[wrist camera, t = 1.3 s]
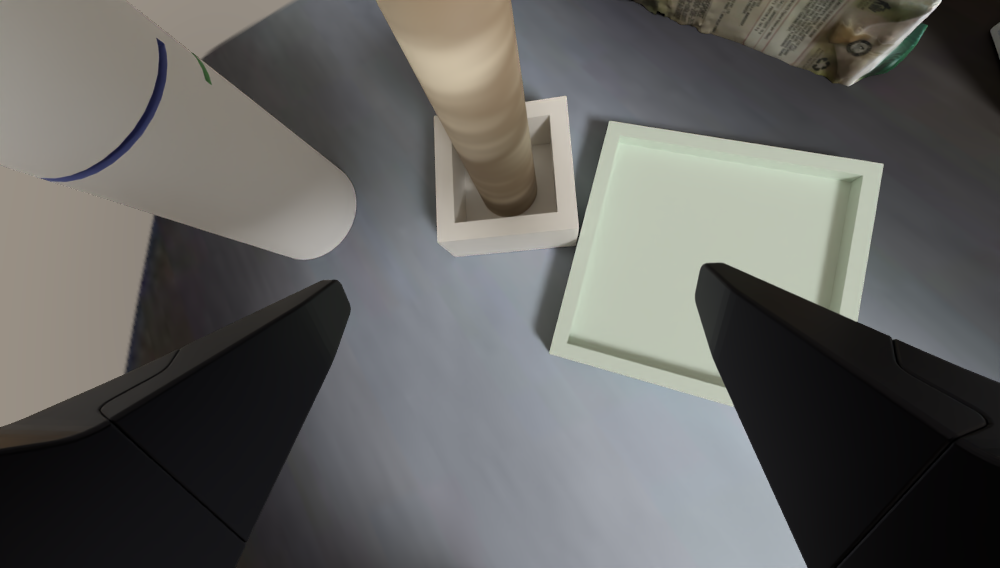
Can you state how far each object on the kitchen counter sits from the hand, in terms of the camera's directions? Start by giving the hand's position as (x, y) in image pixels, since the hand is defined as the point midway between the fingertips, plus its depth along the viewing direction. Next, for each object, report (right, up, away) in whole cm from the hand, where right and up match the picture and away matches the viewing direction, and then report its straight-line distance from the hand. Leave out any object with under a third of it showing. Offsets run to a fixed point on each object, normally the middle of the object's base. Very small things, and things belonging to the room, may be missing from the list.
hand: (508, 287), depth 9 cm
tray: (+11, +1, +12) cm, 16 cm away
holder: (0, +6, +14) cm, 15 cm away
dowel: (0, +6, +14) cm, 15 cm away
